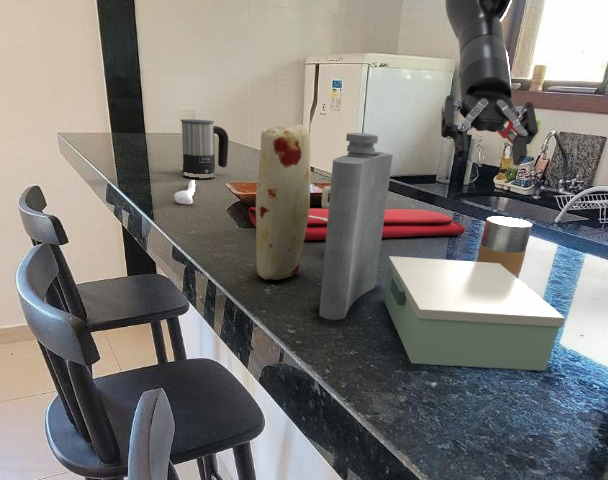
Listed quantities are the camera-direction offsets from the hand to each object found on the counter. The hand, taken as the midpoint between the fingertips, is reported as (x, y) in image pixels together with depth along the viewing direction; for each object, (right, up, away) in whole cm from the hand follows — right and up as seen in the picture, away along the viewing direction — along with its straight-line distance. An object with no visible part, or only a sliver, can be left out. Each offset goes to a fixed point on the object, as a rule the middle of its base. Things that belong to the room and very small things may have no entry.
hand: (491, 159), depth 80 cm
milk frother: (-60, +24, +74) cm, 98 cm away
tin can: (-1, -20, -3) cm, 20 cm away
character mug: (-21, -13, +8) cm, 26 cm away
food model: (-32, -18, -4) cm, 37 cm away
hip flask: (-23, -22, -10) cm, 33 cm away
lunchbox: (-11, -27, -18) cm, 34 cm away
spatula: (-56, +10, +47) cm, 74 cm away
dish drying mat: (-18, -4, +26) cm, 32 cm away
